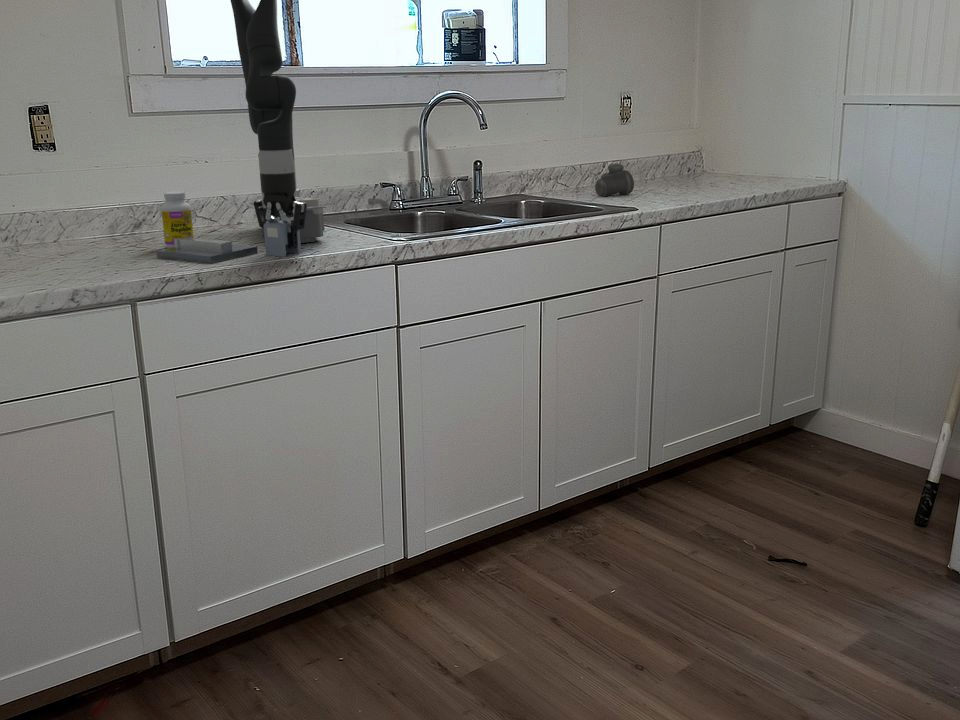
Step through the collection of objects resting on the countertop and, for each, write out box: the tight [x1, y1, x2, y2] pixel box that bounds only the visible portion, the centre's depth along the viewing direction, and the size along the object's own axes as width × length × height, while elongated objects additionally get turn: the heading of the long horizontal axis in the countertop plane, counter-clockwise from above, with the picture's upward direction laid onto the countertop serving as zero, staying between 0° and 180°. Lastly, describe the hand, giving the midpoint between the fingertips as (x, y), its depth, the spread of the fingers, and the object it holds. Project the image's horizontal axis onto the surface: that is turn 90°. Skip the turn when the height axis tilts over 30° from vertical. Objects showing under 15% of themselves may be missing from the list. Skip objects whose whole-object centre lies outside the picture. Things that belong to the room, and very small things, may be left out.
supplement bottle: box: [160, 191, 195, 249], centre depth 217 cm, size 7×7×13 cm
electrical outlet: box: [261, 196, 327, 244], centre depth 227 cm, size 12×28×10 cm, turn 29°
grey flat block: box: [155, 237, 258, 264], centre depth 207 cm, size 14×17×4 cm
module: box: [264, 220, 302, 257], centre depth 206 cm, size 6×5×7 cm
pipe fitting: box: [594, 163, 635, 198], centre depth 301 cm, size 12×8×10 cm
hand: (283, 247), depth 207 cm, fingers closed on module, 5 cm apart
